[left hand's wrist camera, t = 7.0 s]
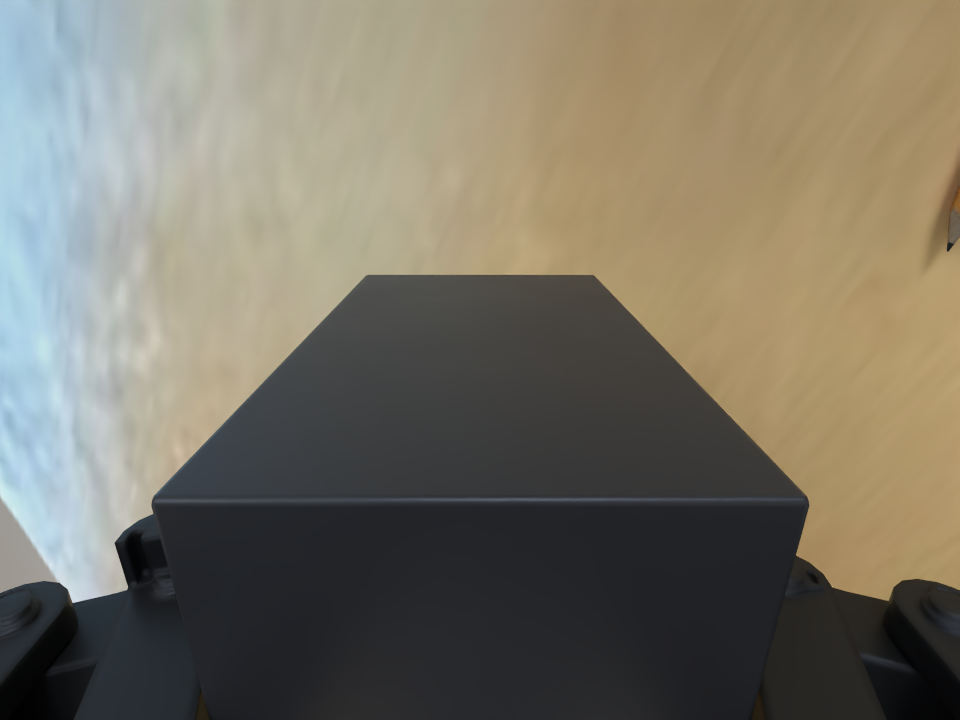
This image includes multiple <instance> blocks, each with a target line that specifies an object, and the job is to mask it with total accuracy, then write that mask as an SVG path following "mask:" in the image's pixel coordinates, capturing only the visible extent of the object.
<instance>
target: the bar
mask: <svg viewBox="0 0 960 720" xmlns="http://www.w3.org/2000/svg"><path fill="white" fill-rule="evenodd" d="M808 508H809V501H808V498H807V496H806V495H805V494H804V493H803V492H802V491H801V490H800V489H799V488H798V487H797V486H796V485H795V484H794V483H793V482H792V481H791V480H790V478H789V477H788V476H787V475H786V474H785V473H784V472H783V471H782V470H781V469H780V468H779V467H778V466H777V465H776V464H775V463H774V462H773V461H772V460H771V459H770V458H769V457H768V456H767V455H766V454H765V453H764V451H763V450H762V449H761V448H760V447H759V446H758V445H757V444H756V443H755V442H754V441H753V440H752V439H751V438H750V437H749V436H748V435H747V434H746V433H745V432H744V431H743V430H742V429H741V428H740V427H739V426H738V424H737V423H736V422H735V421H734V420H733V419H732V418H731V417H730V416H729V415H728V414H727V413H726V412H725V411H724V410H723V409H722V408H721V407H720V406H719V405H718V404H717V403H716V402H715V401H714V400H713V399H712V397H711V396H710V395H709V394H708V393H707V392H706V391H705V390H704V389H703V388H702V387H701V386H700V385H699V384H698V383H697V382H696V381H695V380H694V379H693V378H692V377H691V376H690V375H689V374H688V373H687V372H686V370H685V369H684V368H683V367H682V366H681V365H680V364H679V363H678V362H677V361H676V360H675V359H674V358H673V357H672V356H671V355H670V354H669V353H668V352H667V351H666V350H665V349H664V348H663V347H662V346H661V345H660V343H659V342H658V341H657V340H656V339H655V338H654V337H653V336H652V335H651V334H650V333H649V332H648V331H647V330H646V329H645V328H644V327H643V326H642V325H641V324H640V323H639V322H638V321H637V320H636V319H635V318H634V316H633V315H632V314H631V313H630V312H629V311H628V310H627V309H626V308H625V307H624V306H623V305H622V304H621V303H620V302H619V301H618V300H617V299H616V298H615V297H614V296H613V295H612V294H611V293H610V292H609V291H608V289H607V288H606V287H605V286H604V285H603V284H602V283H601V282H600V281H599V280H598V279H597V278H596V277H595V276H593V275H367V276H365V277H364V279H363V280H362V281H361V282H360V283H359V284H358V285H357V286H356V287H355V288H354V289H353V290H352V291H351V292H350V293H349V294H348V295H347V296H346V297H345V298H344V299H343V300H342V301H341V302H340V303H339V304H338V306H337V307H336V308H335V309H334V310H333V311H332V312H331V313H330V314H329V315H328V316H327V317H326V318H325V319H324V320H323V321H322V322H321V323H320V324H319V325H318V326H317V327H316V328H315V329H314V330H313V331H312V333H311V334H310V335H309V336H308V337H307V338H306V339H305V340H304V341H303V342H302V343H301V344H300V345H299V346H298V347H297V348H296V349H295V350H294V351H293V352H292V353H291V354H290V355H289V356H288V357H287V358H286V359H285V361H284V362H283V363H282V364H281V365H280V366H279V367H278V368H277V369H276V370H275V371H274V372H273V373H272V374H271V375H270V376H269V377H268V378H267V379H266V380H265V381H264V382H263V383H262V384H261V385H260V386H259V388H258V389H257V390H256V391H255V392H254V393H253V394H252V395H251V396H250V397H249V398H248V399H247V400H246V401H245V402H244V403H243V404H242V405H241V406H240V407H239V408H238V409H237V410H236V411H235V412H234V413H233V415H232V416H231V417H230V418H229V419H228V420H227V421H226V422H225V423H224V424H223V425H222V426H221V427H220V428H219V429H218V430H217V431H216V432H215V433H214V434H213V435H212V436H211V437H210V438H209V439H208V440H207V442H206V443H205V444H204V445H203V446H202V447H201V448H200V449H199V450H198V451H197V452H196V453H195V454H194V455H193V456H192V457H191V458H190V459H189V460H188V461H187V462H186V463H185V464H184V465H183V466H182V467H181V469H180V470H179V471H178V472H177V473H176V474H175V475H174V476H173V477H172V478H171V479H170V480H169V481H168V482H167V483H166V484H165V485H164V486H163V487H162V488H161V489H160V490H159V491H158V492H157V493H156V494H155V495H154V497H153V500H152V509H153V513H154V517H155V520H156V524H157V528H158V531H159V535H160V539H161V543H162V546H163V550H164V554H165V557H166V561H167V565H168V568H169V572H170V576H171V579H172V583H173V587H174V590H175V594H176V598H177V602H178V605H179V609H180V613H181V616H182V620H183V624H184V627H185V631H186V635H187V638H188V642H189V646H190V649H191V653H192V657H193V661H194V664H195V668H196V672H197V675H198V679H199V683H200V686H201V690H202V694H203V697H204V701H205V705H206V709H207V712H208V716H209V720H751V718H752V714H753V710H754V707H755V703H756V699H757V696H758V692H759V688H760V685H761V681H762V677H763V674H764V670H765V666H766V663H767V659H768V655H769V652H770V648H771V644H772V641H773V637H774V633H775V630H776V626H777V622H778V619H779V615H780V611H781V608H782V604H783V600H784V597H785V593H786V589H787V585H788V582H789V578H790V574H791V571H792V567H793V563H794V560H795V556H796V552H797V549H798V545H799V541H800V538H801V534H802V530H803V527H804V523H805V519H806V516H807V512H808Z"/></svg>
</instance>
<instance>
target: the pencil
mask: <svg viewBox="0 0 960 720" xmlns="http://www.w3.org/2000/svg"><path fill="white" fill-rule="evenodd" d="M959 237H960V186H959V189H958V191H957V194H956V196H955V199H954V201H953V204H952V206H951V210H950V220H949V232H948V244H947V251H949V250H950V249H951V248H952V246H953V245H954V244H955V242H956V241H957V240H958V238H959Z"/></svg>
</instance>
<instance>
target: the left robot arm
mask: <svg viewBox="0 0 960 720" xmlns="http://www.w3.org/2000/svg"><path fill="white" fill-rule="evenodd" d="M115 546H116V549H117V552H118V555H119V559H120V562H121V565H122V568H123V572H124V575H125V578H126V581H127V584H128V589H127V590H126V591H122V592H119V593H115V594H111V595H107V596H102V597H98V598H94V599H89V600H85V601H80V602H76V603H72V600H71V598H70V595H69V592H68V589H66V588H65V587H64V586H63V585H61V584H60V583H56V582H47V581H42V582H36V583H30V584H24V585H21V586H19V587H15V588H13V589H10V590H7V591H5V592H2V593H0V720H209V716H208V712H207V709H206V705H205V701H204V697H203V694H202V690H201V686H200V683H199V679H198V675H197V672H196V668H195V664H194V661H193V657H192V653H191V649H190V646H189V642H188V638H187V635H186V631H185V627H184V624H183V620H182V616H181V613H180V609H179V605H178V602H177V598H176V594H175V590H174V587H173V583H172V579H171V576H170V572H169V568H168V565H167V561H166V557H165V554H164V550H163V546H162V543H161V539H160V535H159V531H158V528H157V524H156V520H155V517H154V514H152V515H150V516H148V517H146V518H143V519H141V520H139V521H138V522H136V523H135V524H133V525H132V526H131V527H129V528H128V529H126V530H125V531H124V532H123V533H122V534H121V536H120V537H119V538H118V539H117V541H116V542H115ZM751 720H960V590H957V589H955V588H952V587H949V586H947V585H943V584H940V583H938V582H932V581H926V580H920V579H913V580H904V581H901V582H900V583H899V584H897V585H896V586H895V587H894V588H893V591H892V594H891V596H890V599H889V601H885V600H881V599H877V598H872V597H868V596H863V595H859V594H855V593H850V592H846V591H842V590H839V589H835V588H832V586H831V585H830V583H829V582H828V580H827V579H826V577H825V576H824V574H823V573H821V572H820V571H819V570H818V569H816V568H815V567H814V566H813V565H812V564H810V563H809V562H807V561H805V560H803V559H801V558H799V557H797V556H795V560H794V563H793V567H792V571H791V574H790V578H789V582H788V585H787V589H786V593H785V597H784V600H783V604H782V608H781V611H780V615H779V619H778V622H777V626H776V630H775V633H774V637H773V641H772V644H771V648H770V652H769V655H768V659H767V663H766V666H765V670H764V674H763V677H762V681H761V685H760V688H759V692H758V696H757V699H756V703H755V707H754V710H753V714H752V718H751Z"/></svg>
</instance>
